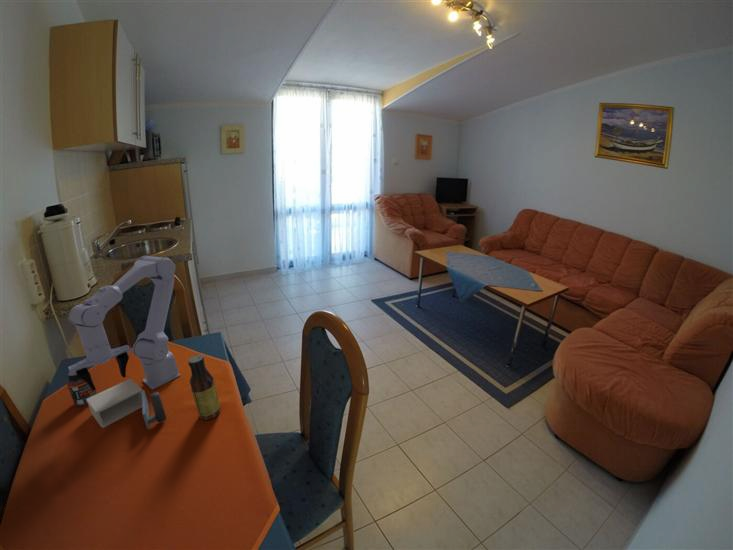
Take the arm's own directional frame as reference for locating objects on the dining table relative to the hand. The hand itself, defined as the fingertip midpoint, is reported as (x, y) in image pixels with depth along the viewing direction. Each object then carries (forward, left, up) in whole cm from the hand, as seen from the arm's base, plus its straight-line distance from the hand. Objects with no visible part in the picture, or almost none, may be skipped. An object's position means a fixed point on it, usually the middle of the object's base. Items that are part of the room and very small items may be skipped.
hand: (109, 382), depth 102 cm
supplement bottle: (+5, -13, -11) cm, 18 cm away
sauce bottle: (-16, +25, -11) cm, 32 cm away
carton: (0, 0, -10) cm, 10 cm away
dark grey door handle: (-6, +12, -10) cm, 17 cm away
